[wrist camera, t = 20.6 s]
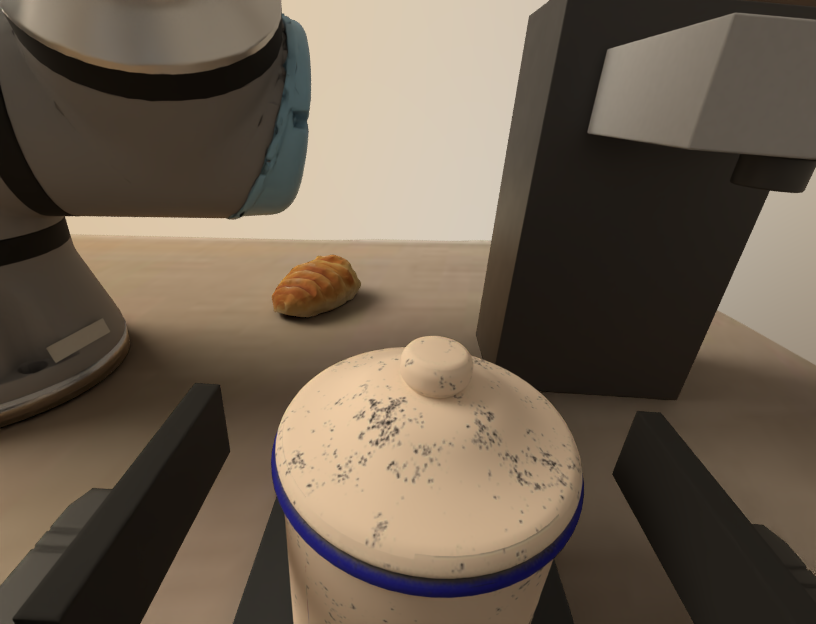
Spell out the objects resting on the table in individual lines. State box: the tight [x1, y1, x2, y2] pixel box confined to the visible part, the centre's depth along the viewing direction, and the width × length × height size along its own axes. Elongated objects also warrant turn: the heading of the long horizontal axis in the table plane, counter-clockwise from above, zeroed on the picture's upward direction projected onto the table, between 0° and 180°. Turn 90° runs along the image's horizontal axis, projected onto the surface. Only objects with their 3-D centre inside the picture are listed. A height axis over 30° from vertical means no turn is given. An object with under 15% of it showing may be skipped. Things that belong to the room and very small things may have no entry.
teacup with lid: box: [271, 336, 584, 624], centre depth 15 cm, size 12×9×12 cm
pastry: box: [272, 255, 361, 318], centre depth 41 cm, size 9×7×4 cm
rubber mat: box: [233, 497, 574, 624], centre depth 18 cm, size 13×13×1 cm
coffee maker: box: [476, 0, 816, 400], centre depth 24 cm, size 18×14×30 cm
